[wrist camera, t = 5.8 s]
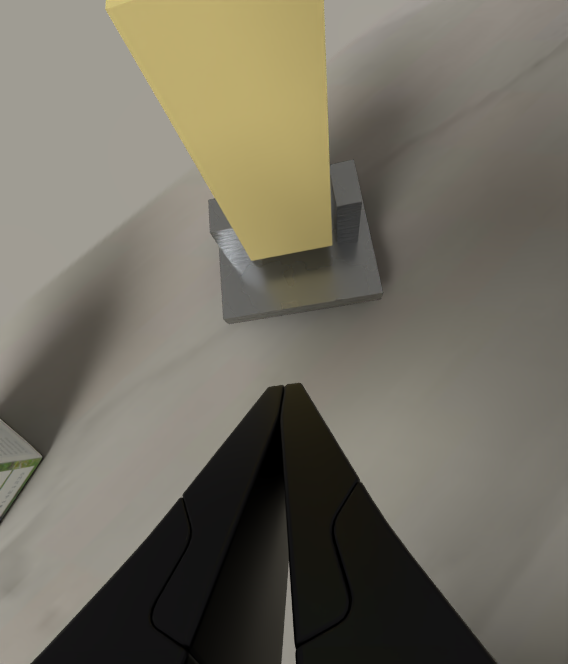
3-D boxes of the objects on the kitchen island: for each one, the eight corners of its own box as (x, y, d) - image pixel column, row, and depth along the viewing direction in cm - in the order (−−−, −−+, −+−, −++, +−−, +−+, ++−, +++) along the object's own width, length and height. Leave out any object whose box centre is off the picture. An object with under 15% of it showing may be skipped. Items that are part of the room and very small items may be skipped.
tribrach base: (378, 305, 18) (392, 264, 14) (234, 328, 20) (199, 298, 15) (352, 182, 21) (356, 110, 16) (226, 209, 22) (193, 150, 17)
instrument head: (332, 245, 16) (315, -234, 4) (251, 261, 17) (29, -121, 5) (321, 182, 17) (282, -348, 5) (245, 198, 18) (52, -243, 6)
